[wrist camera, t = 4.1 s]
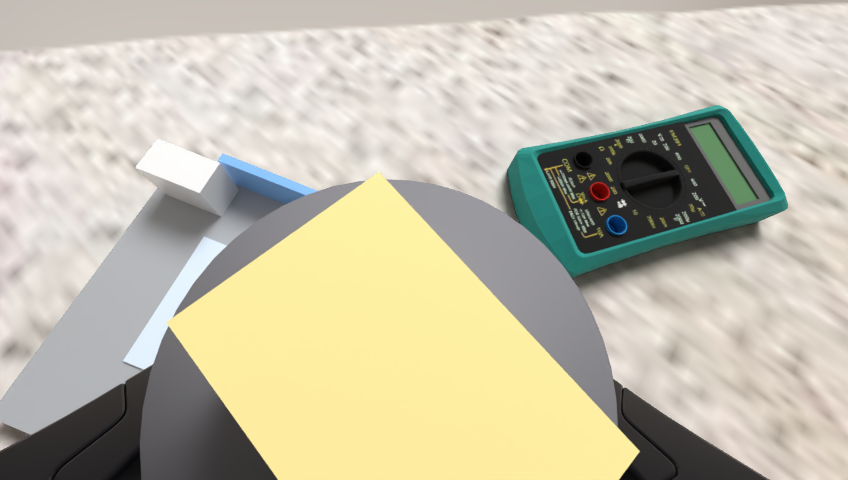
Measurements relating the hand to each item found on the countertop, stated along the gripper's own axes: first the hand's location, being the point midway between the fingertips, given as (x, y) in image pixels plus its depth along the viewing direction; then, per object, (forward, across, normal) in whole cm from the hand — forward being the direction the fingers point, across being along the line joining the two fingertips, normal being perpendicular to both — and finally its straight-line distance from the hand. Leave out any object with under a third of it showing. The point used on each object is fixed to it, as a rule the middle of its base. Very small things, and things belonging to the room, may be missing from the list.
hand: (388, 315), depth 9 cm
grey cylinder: (+4, 0, +6) cm, 7 cm away
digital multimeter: (+14, -14, +1) cm, 20 cm away
